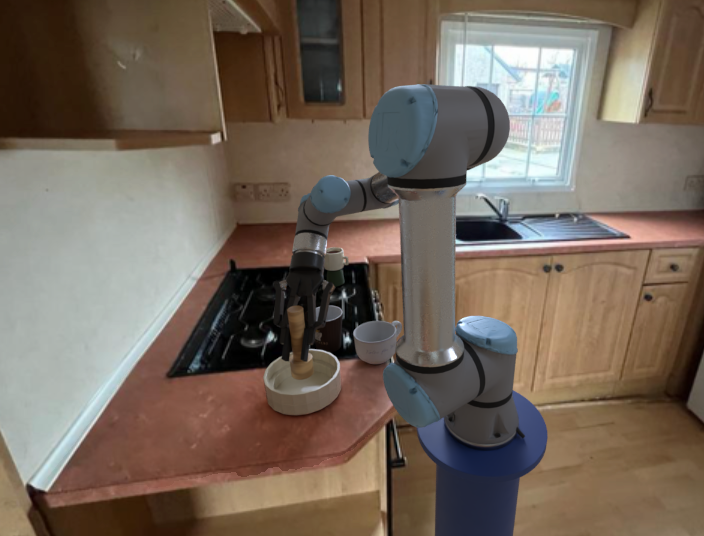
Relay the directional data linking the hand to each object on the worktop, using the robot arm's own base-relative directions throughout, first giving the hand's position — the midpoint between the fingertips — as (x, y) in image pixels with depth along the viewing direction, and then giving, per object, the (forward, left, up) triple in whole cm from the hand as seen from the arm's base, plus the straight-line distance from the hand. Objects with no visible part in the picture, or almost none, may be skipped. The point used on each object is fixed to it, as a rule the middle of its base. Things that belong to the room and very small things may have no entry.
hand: (294, 360), depth 85 cm
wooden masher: (+2, -3, -6) cm, 7 cm away
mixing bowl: (+2, -3, -11) cm, 12 cm away
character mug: (+31, -53, -11) cm, 63 cm away
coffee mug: (+10, -21, -11) cm, 26 cm away
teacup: (-6, -23, -11) cm, 27 cm away
